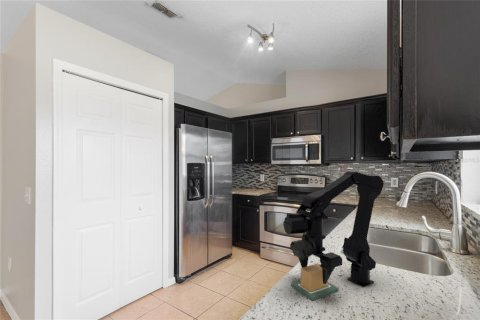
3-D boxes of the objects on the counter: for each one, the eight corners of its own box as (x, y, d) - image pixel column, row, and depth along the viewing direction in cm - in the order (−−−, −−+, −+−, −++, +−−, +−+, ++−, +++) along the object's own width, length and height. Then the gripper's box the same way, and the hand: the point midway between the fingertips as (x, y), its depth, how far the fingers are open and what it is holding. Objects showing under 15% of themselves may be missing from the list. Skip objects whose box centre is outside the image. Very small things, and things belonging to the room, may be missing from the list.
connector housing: (317, 280, 83) (317, 263, 83) (327, 285, 79) (327, 268, 79) (300, 285, 79) (300, 267, 79) (310, 291, 75) (310, 273, 76)
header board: (315, 278, 86) (315, 267, 87) (338, 291, 78) (338, 279, 78) (291, 286, 81) (291, 274, 81) (312, 301, 72) (312, 288, 72)
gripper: (278, 228, 84) (278, 271, 84) (317, 243, 68) (317, 297, 67) (301, 224, 89) (301, 265, 89) (343, 238, 73) (343, 288, 72)
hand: (314, 277), depth 79 cm, fingers open, 9 cm apart
